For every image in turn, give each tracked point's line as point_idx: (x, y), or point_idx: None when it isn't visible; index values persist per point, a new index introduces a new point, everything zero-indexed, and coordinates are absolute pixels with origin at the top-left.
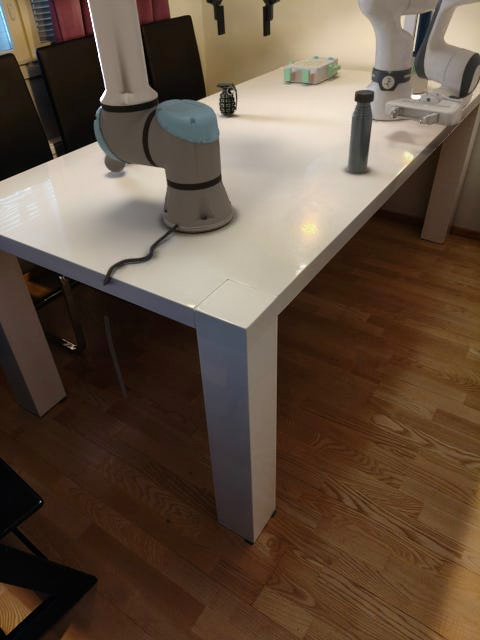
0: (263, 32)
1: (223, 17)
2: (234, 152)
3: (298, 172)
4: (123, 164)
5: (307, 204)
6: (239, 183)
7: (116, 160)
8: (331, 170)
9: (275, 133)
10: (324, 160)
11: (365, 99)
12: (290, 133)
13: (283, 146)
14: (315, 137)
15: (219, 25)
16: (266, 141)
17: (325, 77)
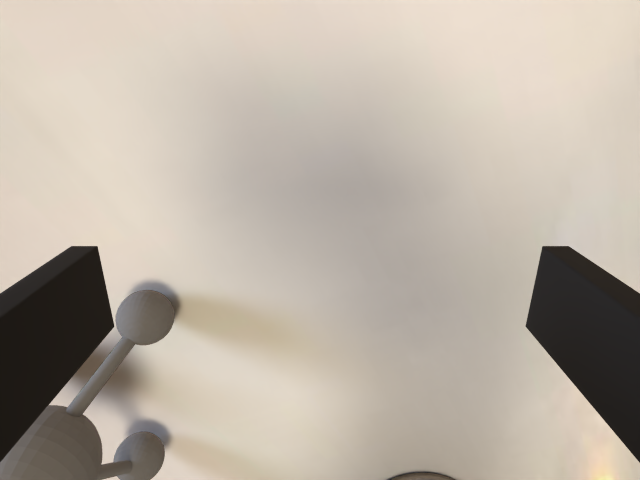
0: (542, 342)
1: (5, 335)
2: (326, 241)
3: None
4: (164, 453)
5: (586, 425)
6: (426, 393)
7: (155, 474)
8: (615, 269)
9: (372, 25)
10: (588, 213)
11: None
12: (425, 4)
13: (445, 147)
14: (527, 18)
15: (71, 375)
16: (375, 121)
17: None
